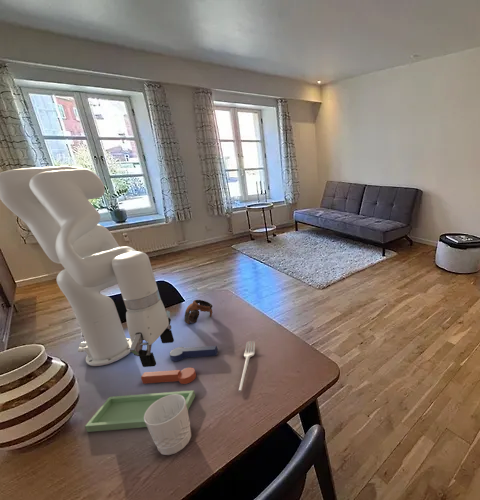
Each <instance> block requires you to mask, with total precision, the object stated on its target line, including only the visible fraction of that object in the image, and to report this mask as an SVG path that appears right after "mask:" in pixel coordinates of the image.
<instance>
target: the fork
mask: <svg viewBox="0 0 480 500" xmlns="http://www.w3.org/2000/svg"><path fill="white" fill-rule="evenodd" d="M255 343H256V342H255V341H252V340H250V341H246V343H245V349H244V353H243V357H244V358H245V361H244V365H243V370H242V375H241V379H240V382H239V386H238V387H239V388H238V393H242V391H243V388H244V387H243V386H244V383H245V379H246V375H247V371H248V367H249V363H250V358H251V357H254V356H255V353H256V345H255Z"/></svg>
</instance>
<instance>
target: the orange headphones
mask: <svg viewBox="0 0 480 500" xmlns="http://www.w3.org/2000/svg"><path fill="white" fill-rule="evenodd" d="M212 308H213V305H212V303H210V302H208V301H206V300H203V299H194V300H193V301H192V303H190V304H189V305H188V306H186V309H185V312H184V320H183V322H185V324H187V325H191V324H196V323H197V322H198V318H199V316H200V312H205V313H206V312H207V313H209V318H211V317H213V309H212Z"/></svg>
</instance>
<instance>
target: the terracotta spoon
mask: <svg viewBox="0 0 480 500" xmlns="http://www.w3.org/2000/svg"><path fill="white" fill-rule="evenodd" d="M196 378H197V373H196V369H195V368H194V367H185V368H183V369H182V370H181V369H173V370H160V371H159V370H158V371H145V372H143V373H142V375H141V376H140V379H141V382H142V384H158V383H170V382H171V383H173V382H179V384H181V385H187V384H190V383H191V382H193V381H195V379H196Z"/></svg>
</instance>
